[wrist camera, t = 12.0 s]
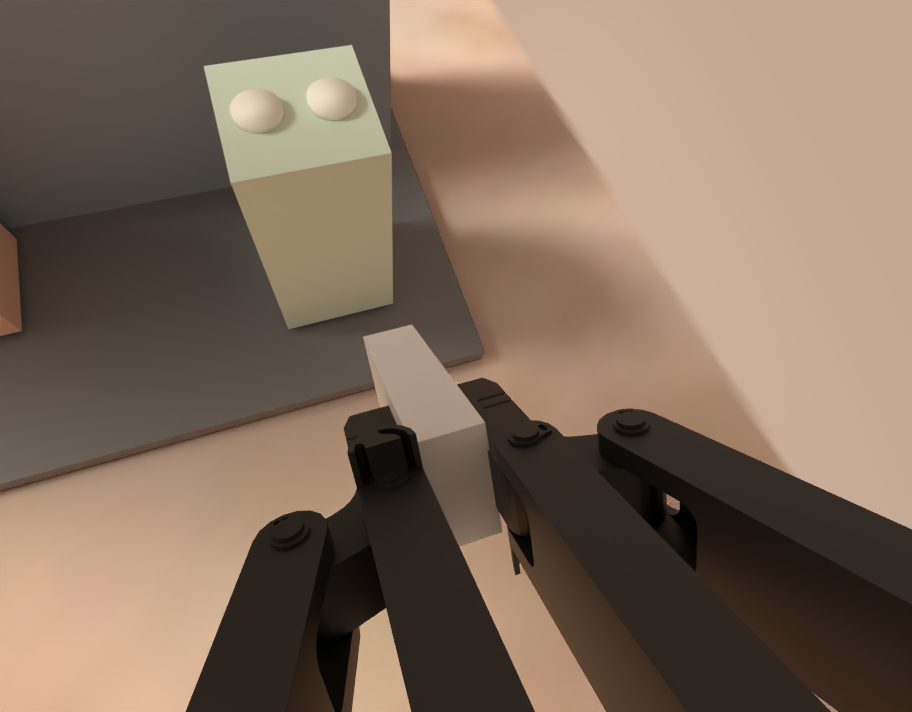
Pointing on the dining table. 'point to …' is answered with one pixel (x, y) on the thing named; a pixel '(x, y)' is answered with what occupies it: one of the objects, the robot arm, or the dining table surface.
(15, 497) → the dining table surface
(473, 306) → the dining table surface
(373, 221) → the button two
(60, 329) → the console
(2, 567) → the dining table surface
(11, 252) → the button one
